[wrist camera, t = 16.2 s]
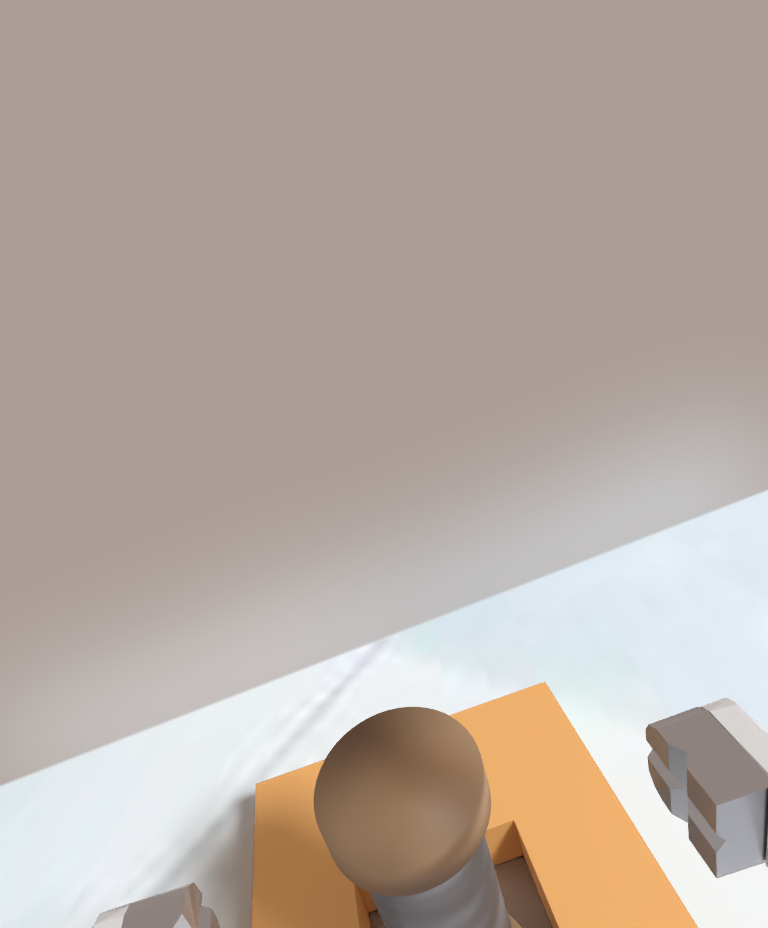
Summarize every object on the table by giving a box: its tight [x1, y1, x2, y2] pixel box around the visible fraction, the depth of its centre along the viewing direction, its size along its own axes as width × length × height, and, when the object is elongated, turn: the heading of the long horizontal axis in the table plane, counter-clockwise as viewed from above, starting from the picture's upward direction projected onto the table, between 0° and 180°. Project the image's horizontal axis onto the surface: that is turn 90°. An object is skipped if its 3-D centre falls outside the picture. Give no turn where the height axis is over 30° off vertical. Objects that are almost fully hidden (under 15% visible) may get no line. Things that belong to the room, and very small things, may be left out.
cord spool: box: [313, 707, 522, 928], centre depth 24 cm, size 6×6×15 cm
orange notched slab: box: [251, 682, 698, 928], centre depth 29 cm, size 20×20×3 cm
